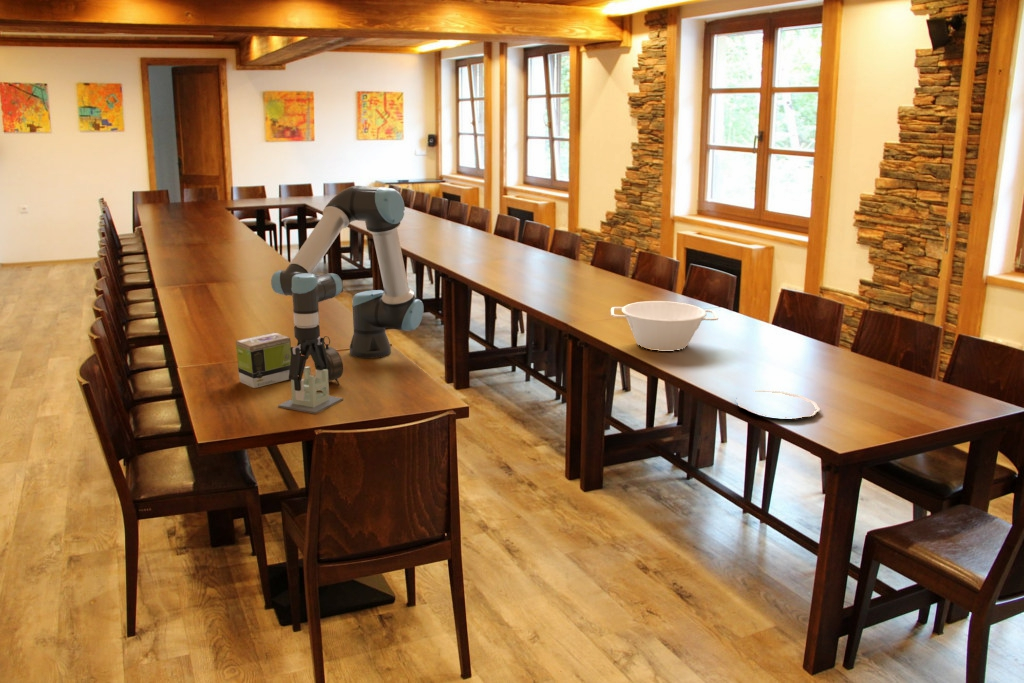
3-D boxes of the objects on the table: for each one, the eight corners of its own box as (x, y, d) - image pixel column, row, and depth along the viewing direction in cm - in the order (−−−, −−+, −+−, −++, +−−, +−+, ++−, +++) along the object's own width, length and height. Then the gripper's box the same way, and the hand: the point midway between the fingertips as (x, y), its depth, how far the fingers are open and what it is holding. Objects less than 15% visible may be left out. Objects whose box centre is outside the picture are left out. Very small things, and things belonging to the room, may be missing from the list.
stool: (308, 395, 281) (306, 366, 279) (329, 399, 278) (327, 369, 275) (292, 403, 274) (290, 373, 272) (313, 407, 271) (312, 376, 268)
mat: (306, 393, 285) (306, 391, 285) (342, 399, 280) (342, 398, 280) (278, 407, 273) (278, 405, 273) (315, 413, 267) (315, 412, 267)
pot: (609, 355, 330) (611, 318, 326) (609, 333, 361) (610, 299, 357) (719, 359, 327) (722, 322, 323) (709, 336, 357) (712, 302, 353)
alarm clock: (345, 385, 294) (343, 337, 290) (331, 388, 290) (329, 340, 286) (325, 377, 301) (323, 331, 297) (312, 381, 298) (309, 334, 293)
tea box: (278, 372, 306) (276, 331, 302) (294, 379, 299) (291, 337, 295) (238, 382, 296) (235, 339, 292) (253, 389, 289) (250, 345, 285)
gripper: (318, 315, 281) (321, 383, 287) (273, 332, 261) (277, 404, 267) (338, 318, 278) (341, 386, 284) (293, 335, 258) (298, 407, 264)
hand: (310, 394), depth 276 cm, fingers open, 9 cm apart
